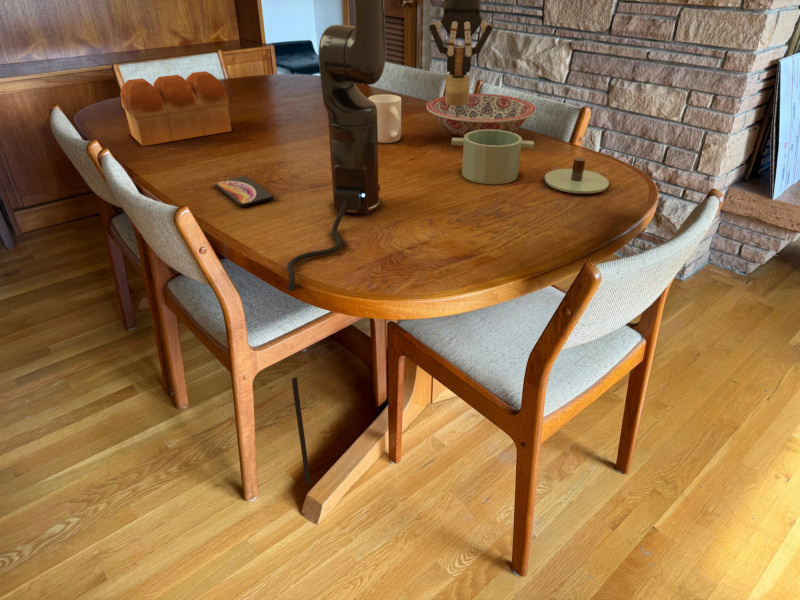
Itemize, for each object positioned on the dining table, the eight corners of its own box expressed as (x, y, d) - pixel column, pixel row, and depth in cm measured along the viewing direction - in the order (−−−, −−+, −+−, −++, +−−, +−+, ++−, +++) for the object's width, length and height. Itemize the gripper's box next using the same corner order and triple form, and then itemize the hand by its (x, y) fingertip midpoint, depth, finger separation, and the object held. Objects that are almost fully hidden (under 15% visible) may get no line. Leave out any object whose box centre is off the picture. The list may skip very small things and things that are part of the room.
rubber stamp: (468, 106, 124) (471, 49, 118) (444, 105, 125) (446, 48, 118) (468, 100, 128) (472, 45, 122) (445, 99, 129) (447, 44, 123)
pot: (531, 186, 125) (536, 148, 121) (448, 182, 127) (450, 144, 123) (527, 166, 136) (532, 131, 131) (451, 163, 138) (453, 127, 133)
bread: (141, 146, 148) (126, 87, 140) (129, 134, 156) (115, 78, 148) (233, 130, 160) (224, 75, 152) (217, 120, 169) (208, 67, 161)
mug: (385, 149, 147) (384, 106, 141) (363, 137, 155) (362, 96, 149) (413, 144, 150) (414, 102, 144) (391, 132, 159) (390, 92, 153)
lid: (613, 198, 120) (619, 171, 117) (546, 194, 121) (550, 168, 118) (602, 175, 131) (607, 150, 128) (541, 172, 133) (544, 147, 130)
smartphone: (241, 204, 114) (213, 182, 124) (241, 208, 114) (214, 186, 124) (275, 195, 117) (245, 174, 128) (275, 199, 118) (246, 178, 128)
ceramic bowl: (410, 126, 164) (410, 98, 160) (499, 117, 173) (501, 90, 168) (453, 157, 141) (454, 125, 137) (553, 145, 150) (558, 114, 145)
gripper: (427, -16, 111) (425, 77, 121) (498, -15, 110) (491, 78, 119) (429, -19, 118) (427, 70, 127) (497, -18, 116) (490, 71, 126)
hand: (458, 73), depth 123 cm, fingers closed on rubber stamp, 2 cm apart
